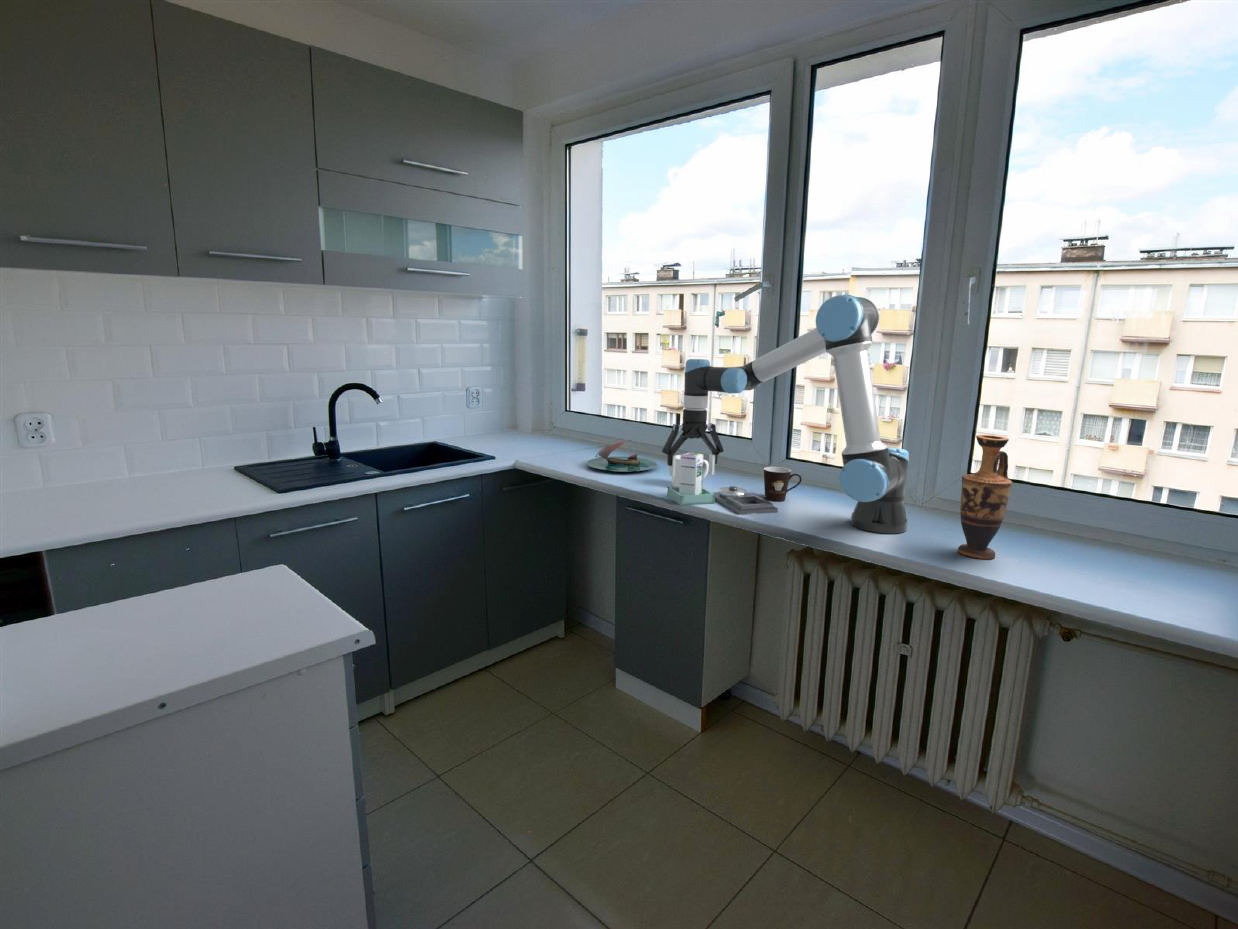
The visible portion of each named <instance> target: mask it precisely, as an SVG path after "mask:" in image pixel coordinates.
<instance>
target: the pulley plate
mask: <svg viewBox="0 0 1238 929" xmlns="http://www.w3.org/2000/svg"><path fill="white" fill-rule="evenodd" d="M712 493H714V494H715V502H717V503H719V504H720V505H722V506H723V507H725V508H727V509H728V510H730V511H732V510H733V511H732V512H734V513H735V514H737V513H738V514H737V515H739V514H741V515H751V514H750V513H757V514H768V513H769V514H770V513H778V507H776V506H774V503H772V502H771V501H768V500H766V499H765V498H762V497H761V496H758V495H752V494H750V493H749V492H748V490H747V489H745V488H742V487H738V486H735V485H733V486H731V485H730V486H723V487H719V488H718V492H715V491H714V492H712ZM748 513H749V514H748Z"/></svg>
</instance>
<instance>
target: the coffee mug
mask: <svg viewBox="0 0 1238 929" xmlns="http://www.w3.org/2000/svg"><path fill="white" fill-rule="evenodd" d="M791 472H792V470H791V469H789V468H786V467H781V466H780V467H779V466H767V467H765V466H764V468H763V480H764V481H763V482H764V484H763V486H764V500H766V501H768V502H773V503H781V502H785V501H786V497H787V494H788V492H790V491H792V490H794V489H795V488H797V487H798V486H799V485H800V484H801V483H802V476H801V475H800V474H797V473H793V474H791ZM794 476H797V477H798V478H799V481H798V482H797V484H795V485H793V486H792V487H789V481H790V480H791V479H792V478H793V477H794ZM788 487H789V488H788Z"/></svg>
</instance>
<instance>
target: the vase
mask: <svg viewBox="0 0 1238 929" xmlns="http://www.w3.org/2000/svg"><path fill="white" fill-rule="evenodd" d="M975 438H976V441H977V443H978V444H977V445H979V446H980V447H981V449H982V455H981V463H980V467H979V469H978V471H976V472H974V473H969V474H968V473H967V474H963V475H962V477H961V494H960V495H961V496H960V508H959V509H960V510H959V511H960V524H961V529H962V532H963V535H964V538H965V542H966V543H963V544H960V545H959V546H958V548H957V552H958V553H959V554H961V555H963V556H966V557H968V558H969V557H970V558H973V559H980V560H992V559H995V558H996V551H994V549H992V548H989V544H990V543H991V542H992V540H993V539H994V537H995V536H996V534H997V533H998V532H999V530H1000V527H1001V526H1002V523H1003V520H1004V518H1005V514H1006V511H1007V507H1008V506H1007V505H1008V502H1009V498H1010V495H1011V494H1010V493H1011V490H1012V486H1013V481H1012V480H1011V479H1010V478H1009V477H1008V475H1009V474H1008V472H1009V471H1008V470H1009V456H1008V453H1007V452H1005V451H1002V450H1001V449H1002V448H1004V447H1005V446H1006V445H1007V444H1008V442H1009V440H1010V439H1009V438H1007V437H1004V436H999V435H991V434H978V435H975Z"/></svg>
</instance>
